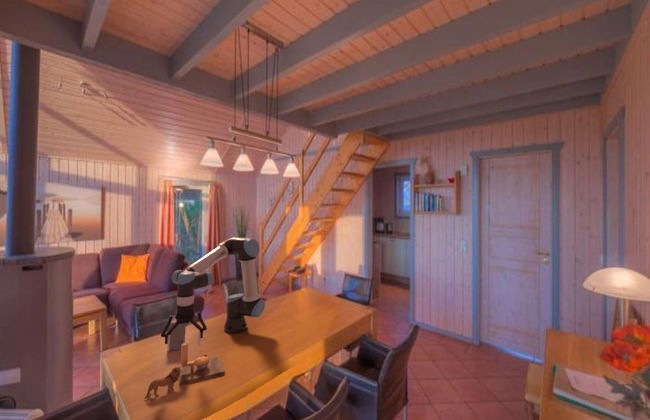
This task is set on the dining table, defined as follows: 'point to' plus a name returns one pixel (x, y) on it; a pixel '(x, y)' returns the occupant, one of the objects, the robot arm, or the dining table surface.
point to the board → (201, 371)
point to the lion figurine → (164, 381)
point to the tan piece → (197, 362)
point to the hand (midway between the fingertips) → (184, 347)
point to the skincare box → (177, 336)
